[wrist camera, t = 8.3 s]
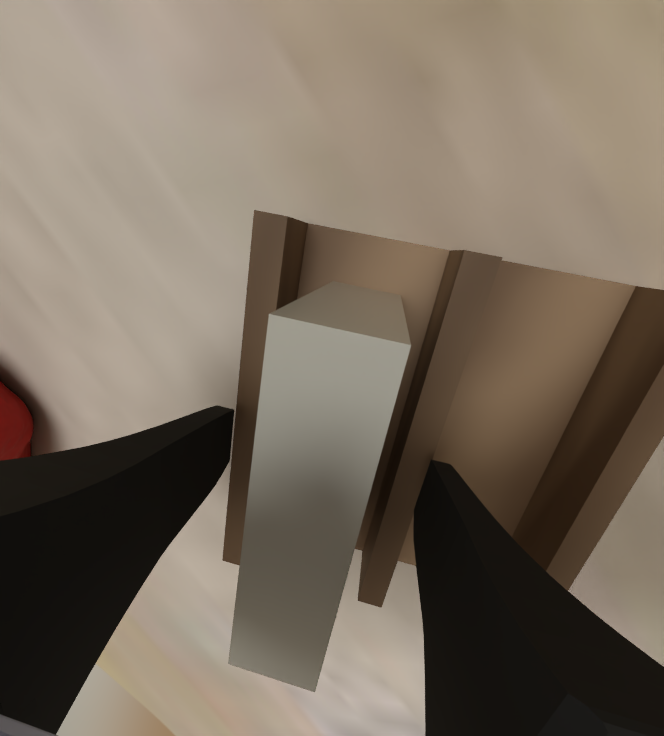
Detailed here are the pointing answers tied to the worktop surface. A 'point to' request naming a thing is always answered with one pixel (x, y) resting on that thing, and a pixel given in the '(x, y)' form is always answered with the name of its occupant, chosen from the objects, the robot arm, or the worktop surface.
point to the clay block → (313, 471)
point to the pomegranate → (14, 426)
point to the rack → (476, 389)
